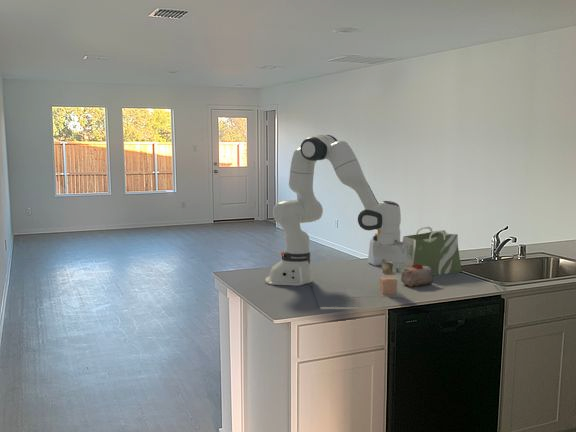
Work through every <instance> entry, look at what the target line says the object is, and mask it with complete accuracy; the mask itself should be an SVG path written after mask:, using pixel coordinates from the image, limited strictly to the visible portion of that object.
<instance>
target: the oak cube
mask: <svg viewBox="0 0 576 432" xmlns="http://www.w3.org/2000/svg"><path fill="white" fill-rule="evenodd" d="M392 267H393V264H392V262H389V263H383V269H382V274H383V275H385V276H395V275H396V273H397V271H396V272H391V268H392Z"/></svg>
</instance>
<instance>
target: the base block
mask: <svg viewBox="0 0 576 432" xmlns="http://www.w3.org/2000/svg"><path fill="white" fill-rule="evenodd" d="M379 280H380V281H379V289H380V291H381V293H382V294H397V288H398V280H397V279H396V278H395V277H393V276H392V277H390V276H389V277H387V276H386V277H380V278H379Z"/></svg>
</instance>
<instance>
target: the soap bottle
mask: <svg viewBox="0 0 576 432" xmlns="http://www.w3.org/2000/svg"><path fill="white" fill-rule="evenodd" d="M375 230H376V231H377V233H374V236H375V235H378V234H379V233H380V230H379V229H375ZM373 242H374V241H373V237H372V238H370V239H369V245H368V246H369V247H368V254H367V255H368V257H367V263H368V264H370V265H373V266H376V267H377V266H382V264H381V261H380V258H378V257H375V256H374V255H373ZM385 262H386V263H390V261H388V260H386V261H385Z"/></svg>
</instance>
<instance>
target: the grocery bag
mask: <svg viewBox="0 0 576 432" xmlns="http://www.w3.org/2000/svg"><path fill="white" fill-rule="evenodd" d="M425 229H427V230H430V231H429V232H424V233H419V232H420V231H422V230H425ZM458 236H459V234H455V233H448V232H447V231H446V230H443V229H442V230H433V228H431V227H430V226H426V227H420V228H419V229H418V230H417V231H416V233H415V234H412V235H411V234H410V235H405V236H403V237H402V241H401V242H403V244H404V245H405V248H406V257H407V261H406V263H405V264H398V266H397V271H396V273H398V274H401V272H402V271H404V269H406V268H412V266H413V264H414V263H415V264H416V265H419V264H420V265H421V266H428V267H430V268H431V269H432V276H441V275H446V274H452V273H462V272H463V268H462V263H461V258H460V252H459V251H460V249H459V237H458ZM403 244H402V245H403Z"/></svg>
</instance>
